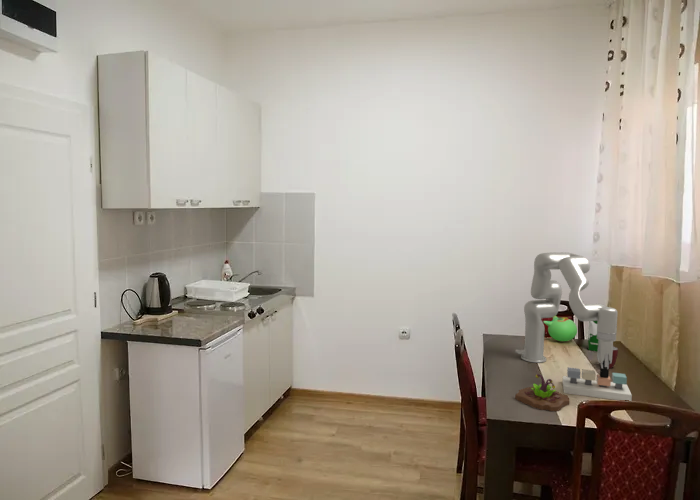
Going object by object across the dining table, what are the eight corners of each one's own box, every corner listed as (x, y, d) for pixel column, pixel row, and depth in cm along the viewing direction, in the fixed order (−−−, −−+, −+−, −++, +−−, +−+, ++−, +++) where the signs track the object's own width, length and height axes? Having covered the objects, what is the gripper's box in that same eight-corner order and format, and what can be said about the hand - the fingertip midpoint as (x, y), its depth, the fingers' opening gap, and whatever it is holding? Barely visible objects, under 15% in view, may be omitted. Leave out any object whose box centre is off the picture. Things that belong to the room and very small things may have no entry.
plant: (532, 388, 223) (533, 364, 222) (575, 402, 208) (577, 376, 207) (508, 400, 210) (509, 374, 209) (552, 415, 195) (554, 387, 194)
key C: (597, 391, 216) (598, 378, 216) (595, 387, 221) (596, 374, 221) (610, 393, 215) (610, 379, 214) (608, 389, 219) (609, 375, 219)
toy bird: (570, 346, 288) (572, 321, 286) (541, 340, 299) (542, 316, 297) (580, 340, 302) (581, 316, 300) (551, 335, 312) (552, 312, 311)
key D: (612, 389, 214) (613, 376, 214) (611, 385, 219) (612, 372, 218) (625, 391, 212) (626, 377, 212) (624, 387, 217) (625, 374, 216)
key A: (567, 383, 221) (568, 370, 220) (566, 380, 225) (567, 367, 225) (579, 385, 219) (580, 372, 218) (578, 381, 223) (579, 368, 223)
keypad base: (563, 392, 217) (564, 386, 217) (562, 382, 230) (562, 375, 230) (631, 401, 208) (631, 395, 208) (625, 390, 221) (626, 383, 221)
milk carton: (586, 350, 280) (588, 315, 278) (588, 346, 288) (590, 312, 286) (604, 353, 276) (606, 317, 274) (605, 349, 283) (607, 314, 281)
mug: (613, 372, 245) (614, 352, 244) (595, 368, 250) (596, 349, 249) (618, 366, 253) (619, 347, 252) (601, 363, 258) (602, 344, 257)
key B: (582, 385, 218) (583, 372, 218) (581, 382, 223) (582, 369, 223) (594, 387, 217) (595, 374, 216) (593, 383, 221) (594, 370, 221)
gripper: (595, 331, 224) (592, 370, 225) (598, 339, 210) (596, 381, 212) (613, 332, 221) (611, 372, 223) (618, 341, 207) (616, 384, 209)
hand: (604, 377), depth 217 cm, fingers closed
